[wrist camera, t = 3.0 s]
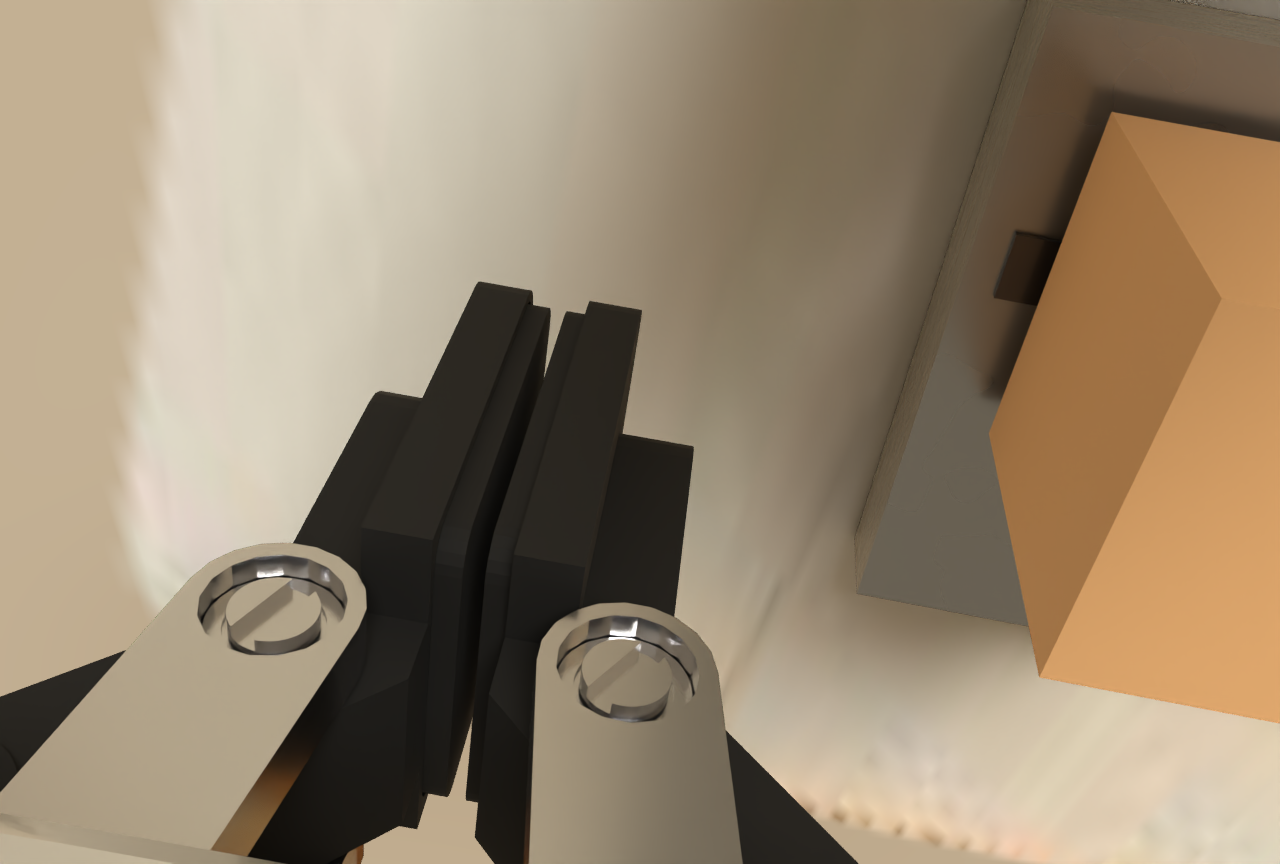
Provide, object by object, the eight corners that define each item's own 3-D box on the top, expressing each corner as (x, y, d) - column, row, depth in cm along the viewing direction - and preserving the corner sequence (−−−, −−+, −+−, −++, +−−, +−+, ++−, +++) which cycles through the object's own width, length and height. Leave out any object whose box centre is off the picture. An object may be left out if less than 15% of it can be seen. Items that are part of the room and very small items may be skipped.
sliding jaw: (1429, 168, 15) (1661, 379, 11) (1187, 604, 19) (1286, 873, 15) (1111, 111, 15) (1222, 299, 11) (941, 558, 19) (974, 812, 15)
